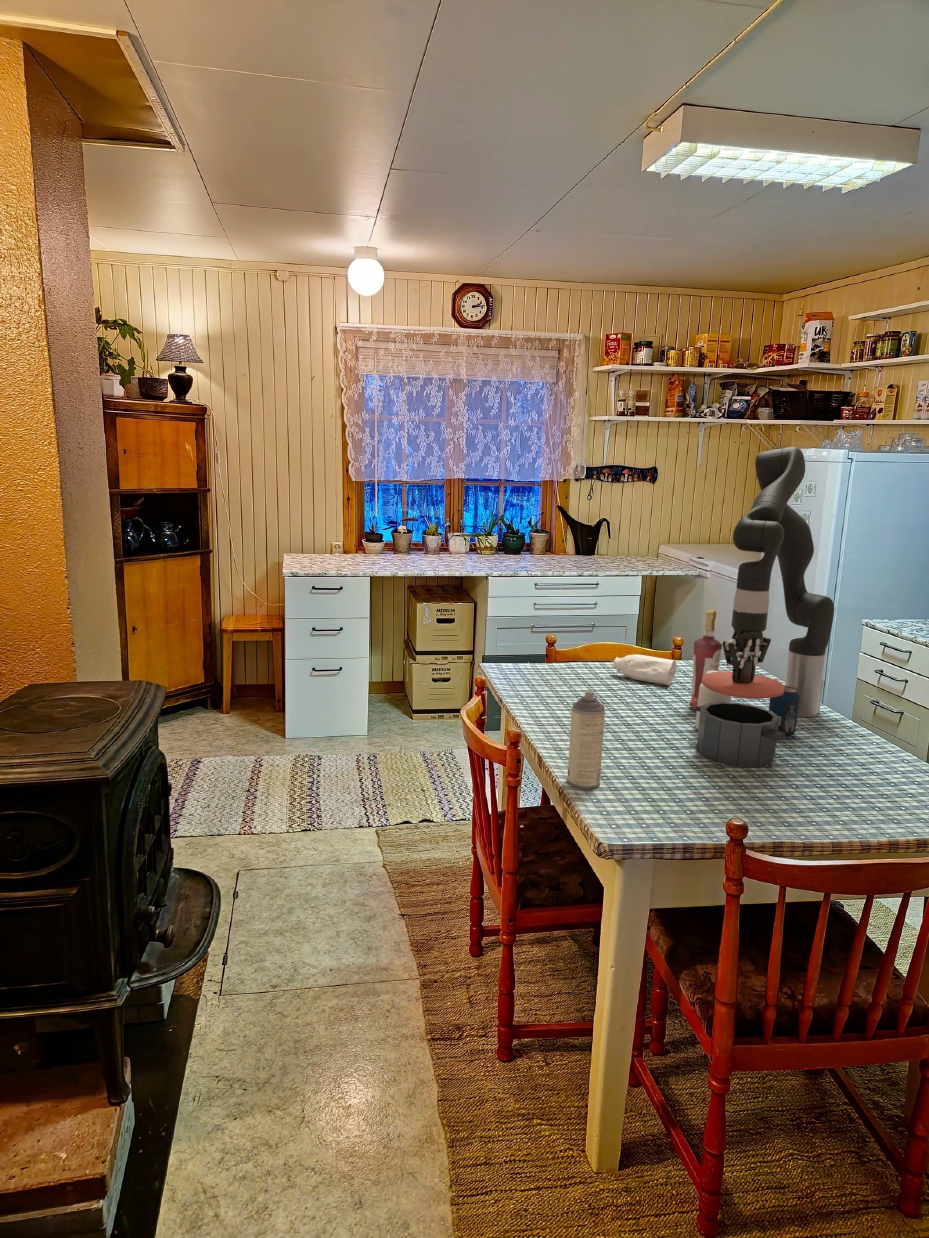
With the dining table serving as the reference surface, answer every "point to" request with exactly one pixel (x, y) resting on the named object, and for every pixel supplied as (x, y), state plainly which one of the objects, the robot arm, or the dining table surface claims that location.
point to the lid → (743, 684)
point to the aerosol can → (586, 742)
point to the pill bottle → (709, 698)
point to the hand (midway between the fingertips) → (742, 681)
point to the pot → (738, 734)
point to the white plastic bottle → (647, 668)
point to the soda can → (786, 710)
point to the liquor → (705, 655)
